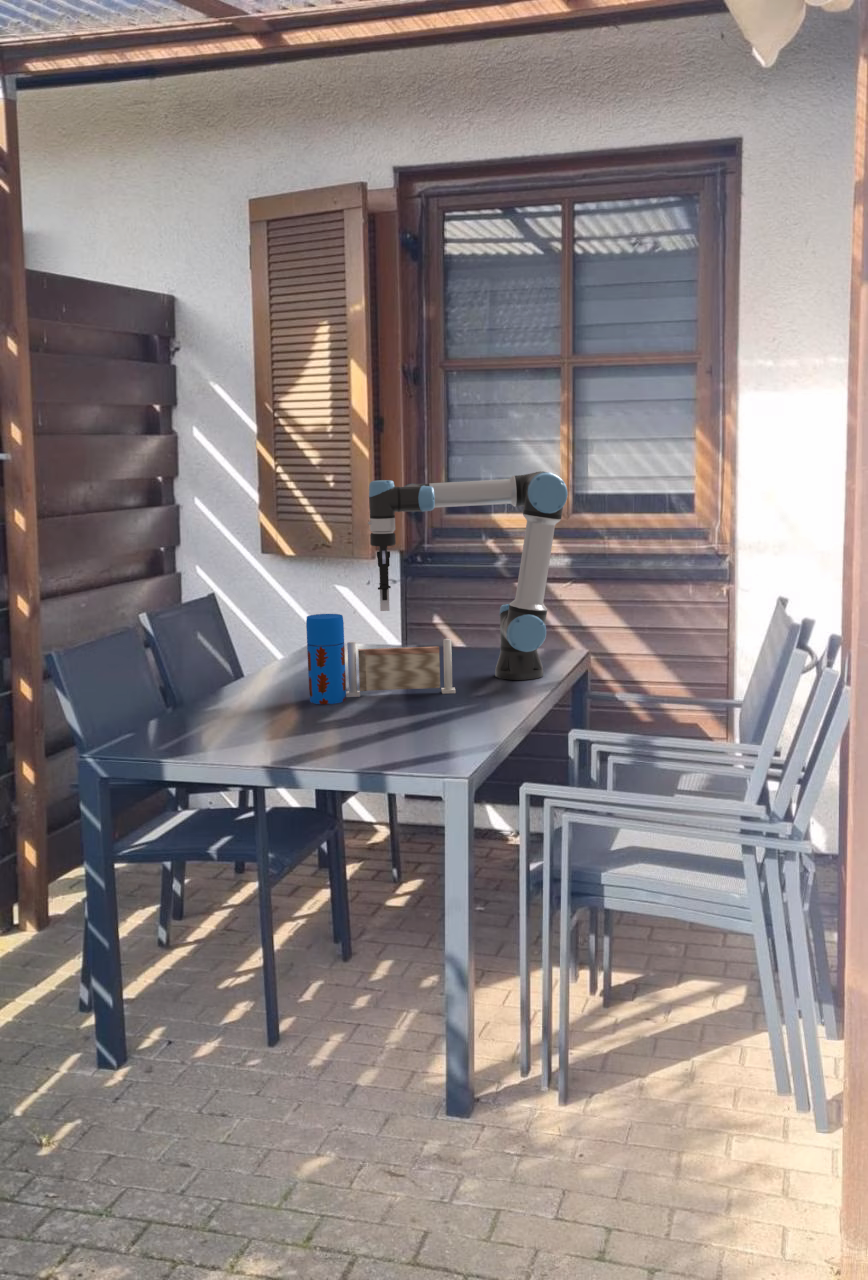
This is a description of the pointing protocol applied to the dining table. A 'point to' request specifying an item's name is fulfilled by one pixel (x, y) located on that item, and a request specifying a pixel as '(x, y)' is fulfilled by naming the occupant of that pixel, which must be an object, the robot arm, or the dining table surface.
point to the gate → (399, 668)
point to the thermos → (326, 658)
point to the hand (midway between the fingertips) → (384, 610)
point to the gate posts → (353, 676)
